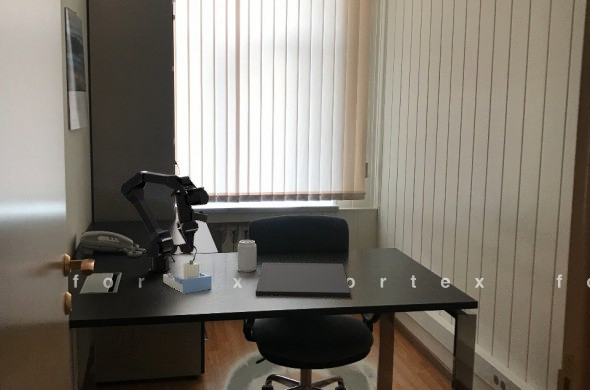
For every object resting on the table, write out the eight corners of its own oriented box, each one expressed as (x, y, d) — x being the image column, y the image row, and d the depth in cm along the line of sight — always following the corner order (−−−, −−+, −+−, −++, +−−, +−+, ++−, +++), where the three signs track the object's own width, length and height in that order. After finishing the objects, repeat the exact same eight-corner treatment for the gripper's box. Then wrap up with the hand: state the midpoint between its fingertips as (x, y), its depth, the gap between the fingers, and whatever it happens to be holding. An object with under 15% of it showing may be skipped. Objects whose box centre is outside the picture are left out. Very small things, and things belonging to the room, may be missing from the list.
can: (253, 273, 249) (253, 243, 248) (235, 271, 251) (235, 242, 249) (258, 268, 256) (258, 239, 255) (240, 267, 258) (240, 238, 256)
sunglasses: (193, 252, 284) (193, 242, 283) (200, 260, 269) (200, 249, 268) (162, 255, 279) (162, 244, 278) (168, 263, 264) (168, 251, 263)
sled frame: (163, 282, 235) (163, 269, 234) (190, 278, 241) (190, 265, 240) (183, 294, 220) (183, 280, 220) (211, 289, 227) (211, 275, 226)
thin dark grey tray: (342, 269, 259) (262, 268, 259) (342, 263, 259) (262, 262, 259) (349, 299, 219) (255, 297, 219) (350, 292, 219) (255, 291, 219)
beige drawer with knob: (183, 288, 228) (183, 260, 226) (195, 286, 230) (194, 259, 229) (188, 290, 225) (187, 262, 223) (199, 288, 227) (199, 261, 226)
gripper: (209, 204, 235) (214, 245, 236) (201, 203, 253) (206, 241, 254) (179, 209, 232) (185, 250, 233) (173, 207, 250) (179, 245, 251)
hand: (190, 246), depth 243 cm, fingers open, 9 cm apart
